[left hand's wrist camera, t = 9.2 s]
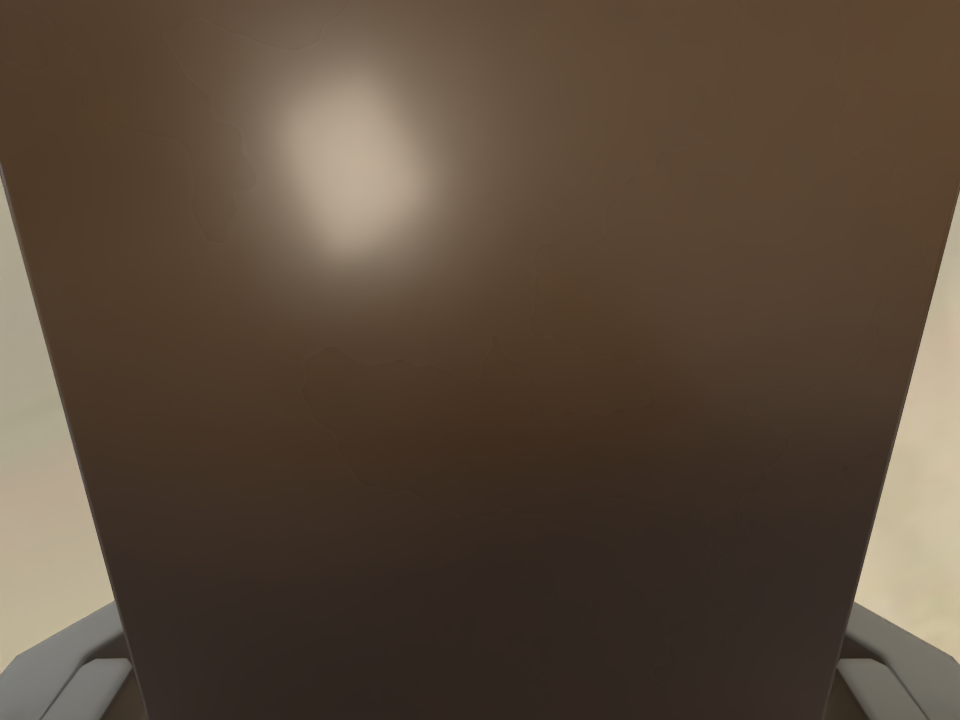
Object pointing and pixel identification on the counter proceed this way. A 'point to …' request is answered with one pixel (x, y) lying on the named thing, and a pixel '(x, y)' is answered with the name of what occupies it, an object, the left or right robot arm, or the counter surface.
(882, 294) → the bar
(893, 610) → the counter surface
